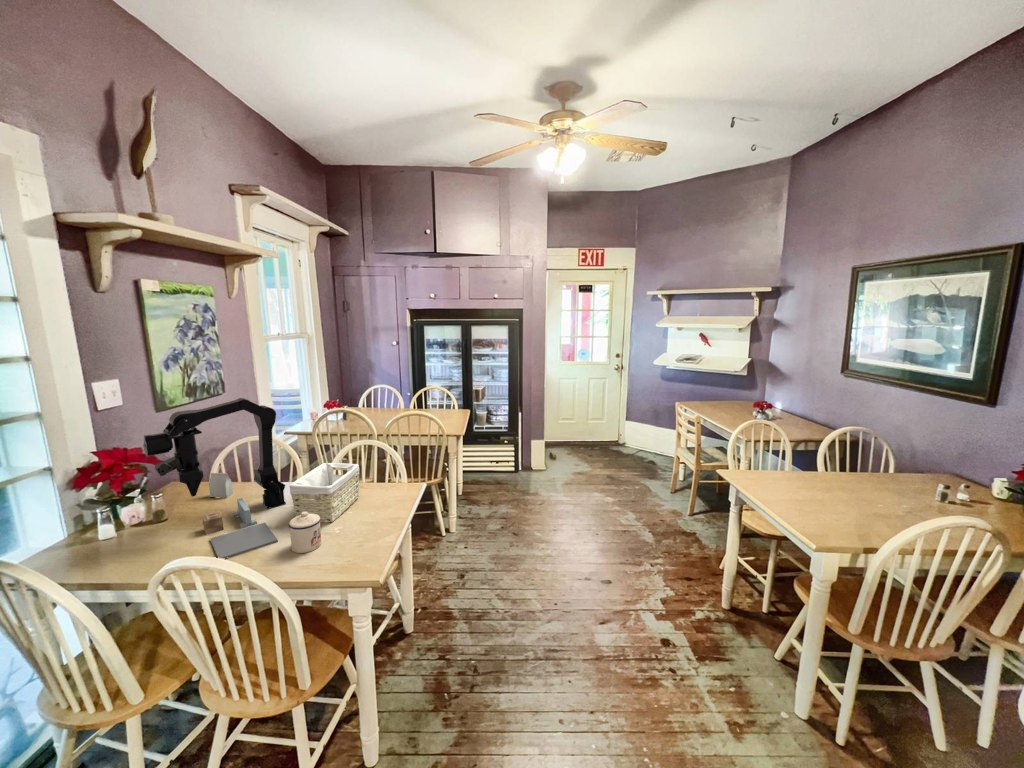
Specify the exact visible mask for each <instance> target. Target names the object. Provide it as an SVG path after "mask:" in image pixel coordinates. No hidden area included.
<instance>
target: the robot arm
mask: <svg viewBox="0 0 1024 768" xmlns="http://www.w3.org/2000/svg"><path fill="white" fill-rule="evenodd" d="M240 411H246V412H248V413H250V414H252V415H253V419H254V422H255V425H256V427H257V430H258V448H259V449H258V450H259V451H258V452H259V466H258V467H257V468H258V469H253V473H254V477H253V480H254V481H255V482H256V484H258V486H260V487H262V488H263V494H262V504H263V506H265V507H266V509H271V508H272V509H273V508H275V507H280V506H283V505H286V503H287V502H286V500H285V495H284V494H285V493H284V492H285V488H286V484H284V483H283V482H282V481H279V477H278V472H277V470H276V468H275V466H274V453H273V451H274V449H273V428H274V426H275V424H276V420H277V412H276V410H275V409H274V408H273V407H269V406H266V405H259V404H257V403H254V402H252V401H251V400H249V399H247V398H243V397H240V398H239V397H238V398H237V399H234V400H231V401H228V402H223V403H220V404H216V405H211V406H208V407H206V408H201V409H200V408H199V409H189V410H181V411H179V410H178V411H176V412H173V413H171V415H170V417H169V419H168V424H167V425H166V427H165V428H164V429H163V430H162V432H159V433H155V434H145V435H143V445H142V447H143V452H144V454H145V456H146V457H151V456H157V455H158V456H159V455H162V454H166V453H170V451H172V449H173V448H174V453H173V454H174V456H173V457H169V458H168V459H166V460H163V461H161V462H159V463H156V464H155V465H154V469H155V471H156V472H157V474H158V475H159V476H160V477H164V476H166V475H167V474H169V473H170V472H173V471H174V470H176V472H178V474H177V475H178V479H179V480H178V481H179V482H180V483H181V484H185V485H186V487H187V489H188V491H189V494H190V496H191V497H195V496H197V493H198V490H199V489H200V488H199V487H200V485H201V483H202V480H203V479H204V471H203V469H202V468H201V467H200V461H199V457H198V456H199V455H198V454H199V452H198V448H197V440H196V435H201V434H203V433H202V431H201V430H200V429H198V428H197V427H198V426H199V425H201V424H203V423H205V422H207V421H210V420H213V419H216V418H220V417H224V416H227V415H230V414H234V413H237V412H240Z"/></svg>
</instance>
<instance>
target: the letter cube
mask: <svg viewBox="0 0 1024 768" xmlns="http://www.w3.org/2000/svg"><path fill="white" fill-rule="evenodd" d="M223 520H224V519H223V515H222V514H221V512H220V511H218V512H217V511H216V512H214V513H210V514H206V515H202V525H203V531H204V533H205V536H207V534H208V535H211V534H215V533H219V532H221V531H224V529H225V528H224V521H223Z"/></svg>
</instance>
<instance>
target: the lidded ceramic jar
mask: <svg viewBox="0 0 1024 768" xmlns="http://www.w3.org/2000/svg"><path fill="white" fill-rule="evenodd" d="M320 520H321V518H320V516H319V515H317V514H309V513H308V512H306V511H305V512H302V513H301V515H300V516H297V517H296V516H295V517H293V518H292V519H291V520H290V521H289V524H288V526H289V530H290V543H291V544H290V545H291V551H292V552H294V553H296V554H305V553H310V552H312V551H315V550H317V549H318V548H320V546H321V544H322V533H321V532H322V531H321V522H320Z"/></svg>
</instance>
